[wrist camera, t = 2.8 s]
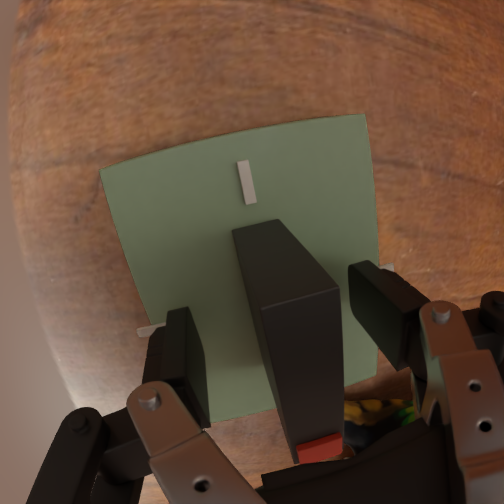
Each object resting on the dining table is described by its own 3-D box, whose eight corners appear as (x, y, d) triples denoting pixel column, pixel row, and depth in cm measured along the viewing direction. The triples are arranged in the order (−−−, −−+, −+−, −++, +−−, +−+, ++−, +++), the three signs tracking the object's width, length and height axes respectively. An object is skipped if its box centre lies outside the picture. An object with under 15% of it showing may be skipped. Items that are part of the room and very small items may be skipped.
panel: (106, 166, 12) (80, 176, 9) (344, 114, 13) (382, 111, 10) (186, 386, 16) (187, 430, 13) (362, 338, 17) (388, 373, 14)
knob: (231, 229, 10) (261, 315, 6) (278, 218, 11) (345, 291, 6) (263, 366, 13) (296, 471, 8) (301, 356, 13) (346, 455, 8)
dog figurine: (295, 462, 28) (445, 415, 28) (316, 565, 17) (481, 501, 17) (281, 354, 16) (519, 282, 17) (330, 584, 6) (609, 408, 6)
